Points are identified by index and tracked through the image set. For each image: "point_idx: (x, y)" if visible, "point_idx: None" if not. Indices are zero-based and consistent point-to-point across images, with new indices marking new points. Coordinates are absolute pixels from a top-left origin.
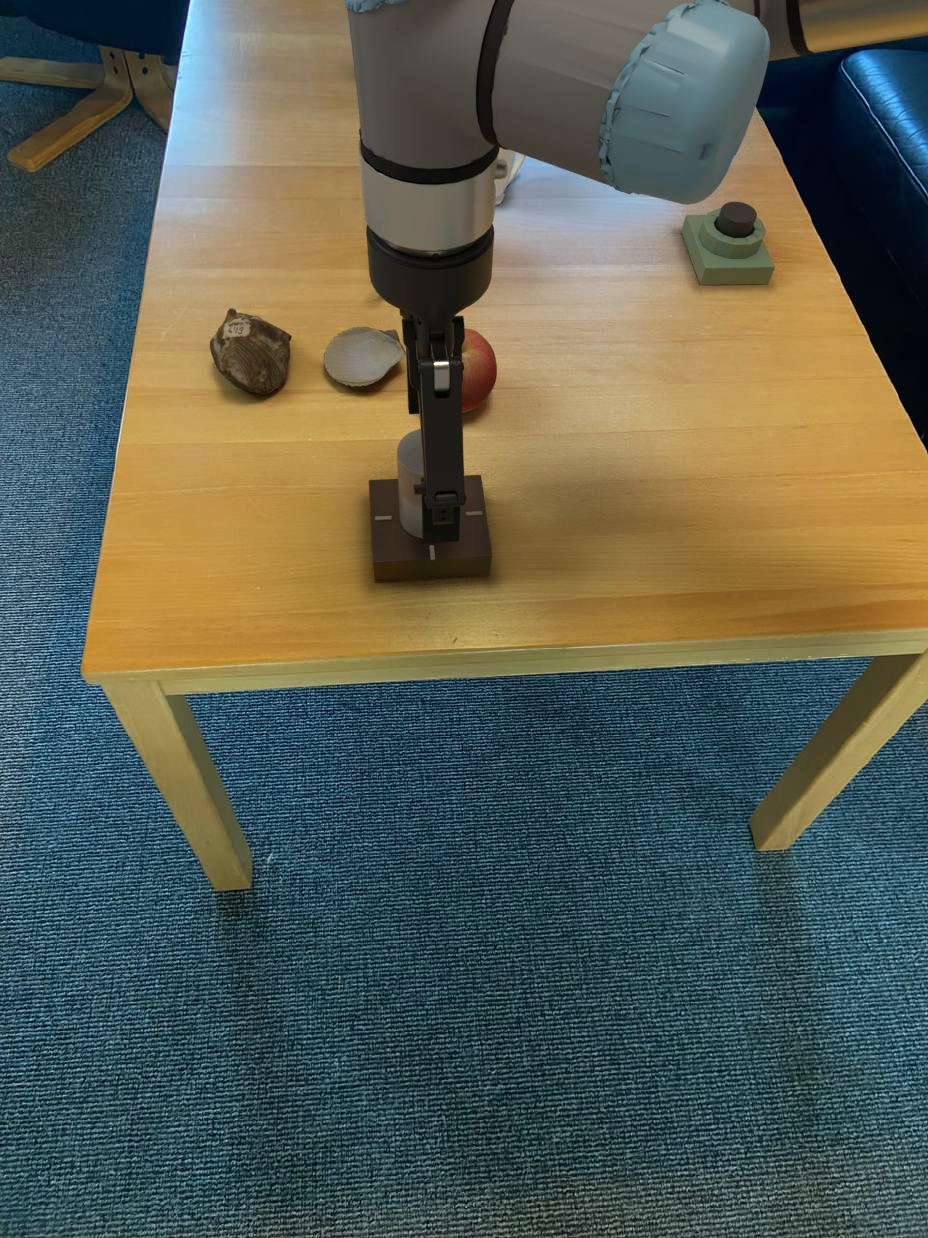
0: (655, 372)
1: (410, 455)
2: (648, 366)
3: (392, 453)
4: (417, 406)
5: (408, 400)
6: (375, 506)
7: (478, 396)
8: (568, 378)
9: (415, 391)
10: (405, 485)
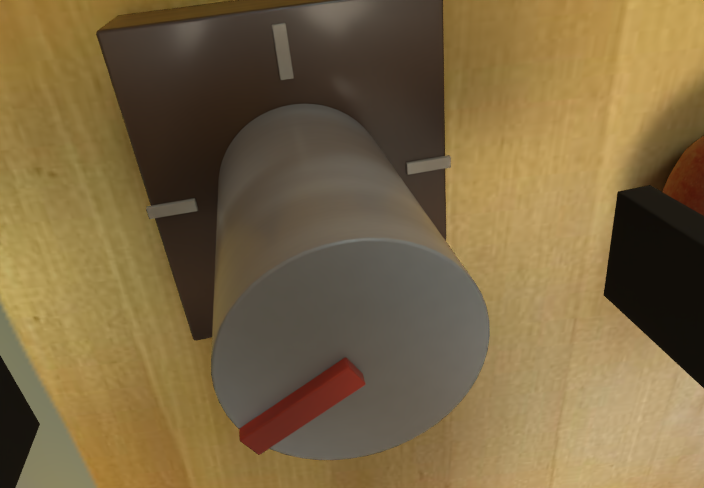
0: (670, 479)
1: (327, 298)
2: (686, 470)
3: (574, 29)
4: (637, 239)
5: (667, 224)
6: (332, 19)
7: None
8: None
9: (697, 275)
10: (245, 226)
